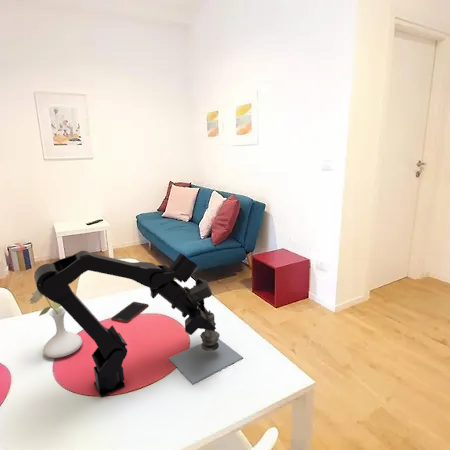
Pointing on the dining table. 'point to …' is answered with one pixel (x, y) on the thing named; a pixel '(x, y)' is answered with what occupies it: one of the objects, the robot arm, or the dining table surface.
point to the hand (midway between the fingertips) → (214, 325)
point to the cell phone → (129, 312)
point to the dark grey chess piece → (210, 335)
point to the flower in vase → (58, 331)
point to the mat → (204, 361)
